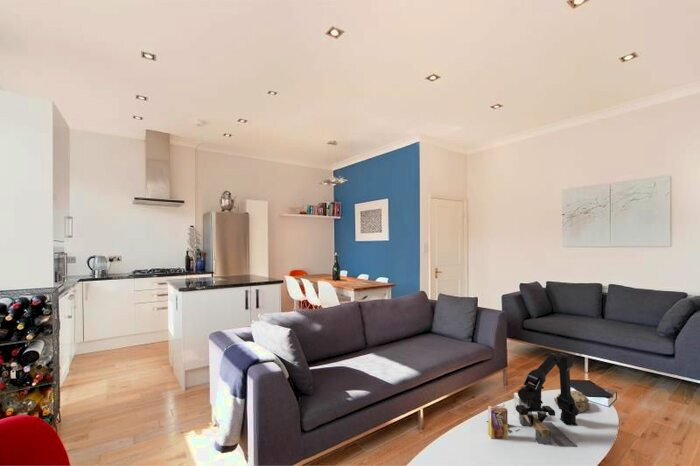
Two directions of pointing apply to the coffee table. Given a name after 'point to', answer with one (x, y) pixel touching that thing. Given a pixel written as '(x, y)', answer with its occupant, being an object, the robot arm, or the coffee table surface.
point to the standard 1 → (524, 421)
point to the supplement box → (518, 402)
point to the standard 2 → (543, 438)
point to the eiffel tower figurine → (508, 427)
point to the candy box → (497, 422)
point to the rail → (539, 426)
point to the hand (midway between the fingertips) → (535, 426)
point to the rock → (578, 400)
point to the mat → (559, 435)
